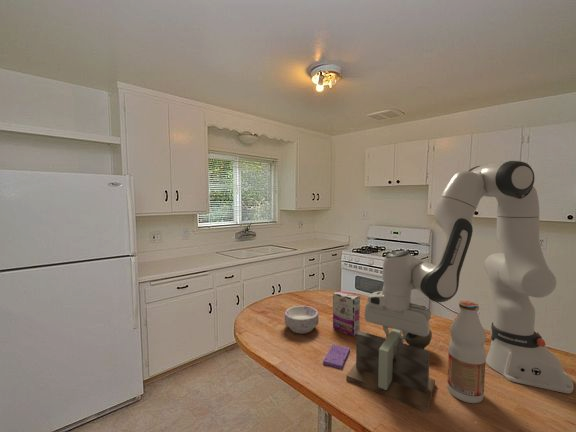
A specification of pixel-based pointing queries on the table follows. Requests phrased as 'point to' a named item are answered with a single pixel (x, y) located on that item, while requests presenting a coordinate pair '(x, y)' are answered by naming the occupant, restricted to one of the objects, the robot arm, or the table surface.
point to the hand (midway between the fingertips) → (395, 340)
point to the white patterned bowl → (301, 318)
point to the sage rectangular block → (387, 359)
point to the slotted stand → (394, 371)
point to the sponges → (336, 356)
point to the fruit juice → (467, 355)
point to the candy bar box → (346, 312)
